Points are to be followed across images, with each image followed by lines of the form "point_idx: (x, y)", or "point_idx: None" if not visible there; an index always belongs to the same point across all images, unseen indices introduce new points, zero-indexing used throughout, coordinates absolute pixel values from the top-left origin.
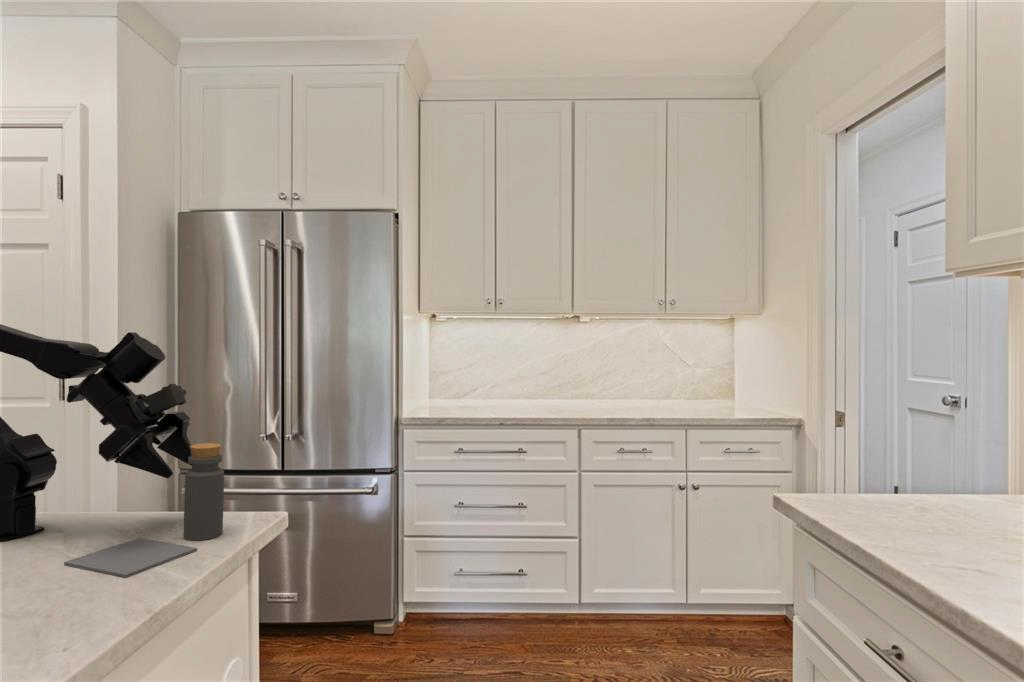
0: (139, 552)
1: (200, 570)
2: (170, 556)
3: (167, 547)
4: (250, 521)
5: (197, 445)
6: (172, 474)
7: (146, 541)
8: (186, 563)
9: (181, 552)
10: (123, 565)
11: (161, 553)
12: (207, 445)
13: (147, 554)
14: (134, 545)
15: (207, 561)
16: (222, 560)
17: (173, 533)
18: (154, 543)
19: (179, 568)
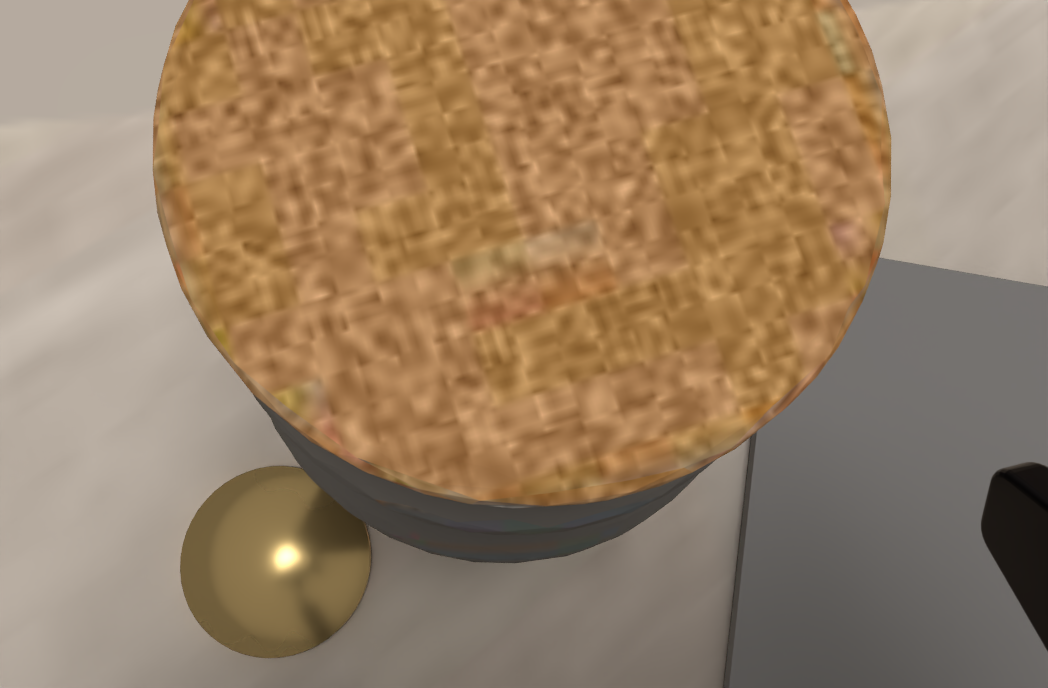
0: (966, 533)
1: (1025, 32)
2: (957, 292)
3: (829, 428)
4: (96, 286)
5: (625, 298)
6: (1004, 469)
7: (775, 662)
8: (967, 167)
9: (877, 278)
10: None
11: (935, 382)
12: (530, 76)
13: (976, 456)
14: (867, 680)
15: (902, 78)
16: (862, 11)
17: (505, 653)
18: (792, 573)
19: (1042, 153)
